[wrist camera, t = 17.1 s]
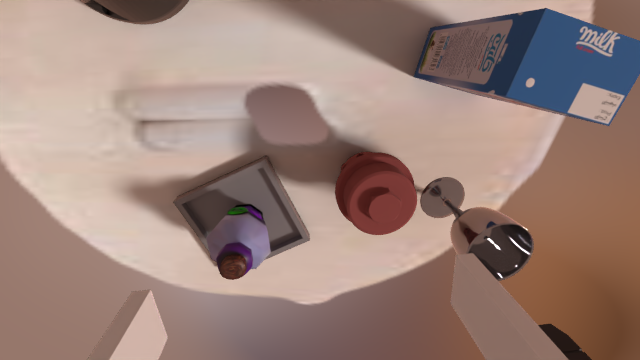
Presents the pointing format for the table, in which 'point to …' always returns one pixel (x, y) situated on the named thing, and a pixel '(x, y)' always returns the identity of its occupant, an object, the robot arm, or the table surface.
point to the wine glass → (479, 229)
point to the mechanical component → (376, 192)
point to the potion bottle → (239, 241)
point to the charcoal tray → (246, 188)
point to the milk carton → (535, 63)
